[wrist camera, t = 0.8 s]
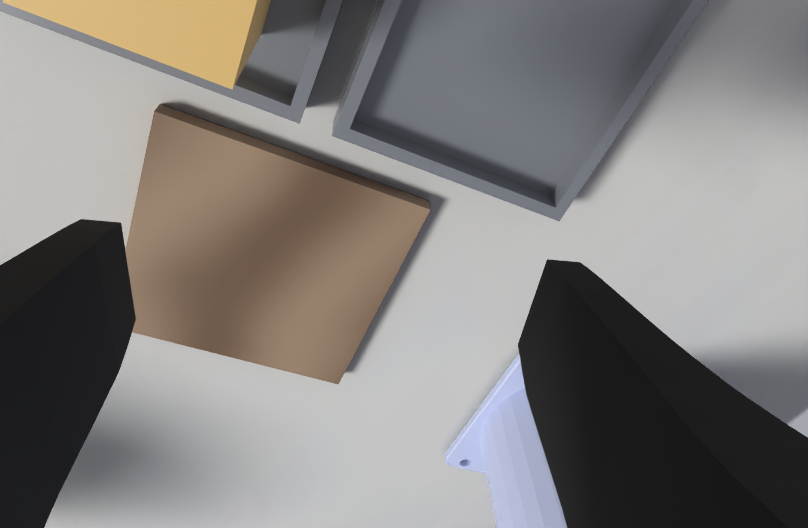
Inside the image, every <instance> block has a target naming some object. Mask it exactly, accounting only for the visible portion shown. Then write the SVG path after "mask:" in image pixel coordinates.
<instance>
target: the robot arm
mask: <svg viewBox="0 0 808 528" xmlns="http://www.w3.org/2000/svg"><path fill="white" fill-rule="evenodd" d="M135 321H136V316H135V309H134V303H133V297H132V290H131V284H130V277H129V271H128V265H127V258H126V252H125V246H124V239H123V233H122V226H121V223H118V222H107V221H95V220H84V219H81V220H79V221H77V222H75V223H73V224H71V225H69V226H67V227H65V228H63V229H62V230H60V231H58V232H56V233H55V234H53V235H51V236H49V237H48V238H46V239H44V240H43V241H41V242H39V243H37V244H36V245H34V246H32V247H31V248H29V249H27V250H26V251H24V252H22V253H21V254H19V255H17V256H15V257H14V258H12V259H10V260H9V261H7V262H5V263H3V264H2V265H0V528H44V527H45V524H46V522H47V519H48V517H49V515H50V512H51V510H52V508H53V506H54V503H55V501H56V499H57V497H58V494H59V492H60V490H61V488H62V486H63V484H64V482H65V480H66V478H67V476H68V474H69V472H70V470H71V468H72V466H73V464H74V462H75V460H76V458H77V456H78V454H79V452H80V450H81V448H82V446H83V444H84V442H85V440H86V438H87V436H88V434H89V432H90V430H91V428H92V426H93V424H94V422H95V420H96V418H97V416H98V414H99V412H100V410H101V408H102V406H103V403H104V401H105V399H106V397H107V395H108V393H109V391H110V389H111V387H112V385H113V383H114V381H115V379H116V377H117V374H118V372H119V370H120V367H121V364H122V361H123V358H124V355H125V352H126V349H127V346H128V343H129V340H130V337H131V334H132V330H133V327H134V324H135ZM518 348H519V354H518V355H517V357H516V358H515V359H514V361H513V362H512V363H511V365H510V366H509V367H508V369H507V370H506V371H505V373H504V374H503V376H502V377H501V378H500V380H499V381H498V382H497V384H496V385H495V386H494V388H493V389H492V390H491V392H490V393H489V394H488V396H487V397H486V399H485V400H484V401H483V403H482V404H481V405H480V407H479V408H478V409H477V411H476V412H475V413H474V415H473V416H472V417H471V419H470V420H469V421H468V423H467V424H466V426H465V427H464V428H463V430H462V431H461V432H460V434H459V435H458V436H457V438H456V439H455V440H454V442H453V443H452V444H451V446H450V447H449V449H448V450H447V451H446V453H445V461H446V463H447V464H448V465H450V466H453V467H457V468H462V469H466V470H471V471H475V472H480V473H484V474H486V476H487V481H488V486H489V491H490V497H491V502H492V507H493V512H494V517H495V522H496V527H497V528H808V438H807V437H806V436H804V435H802V434H801V433H799V432H798V431H796V430H795V429H793V428H791V427H790V426H788V425H787V424H785V423H784V422H782V421H781V420H780V419H778V418H777V417H775V416H774V415H772V414H771V413H769V412H768V411H766V410H765V409H763V408H762V407H760V406H759V405H757V404H756V403H754V402H753V401H751V400H750V399H748V398H747V397H745V396H744V395H743V394H741V393H740V392H739V391H737V390H736V389H734V388H733V387H732V386H730V385H729V384H727V383H726V382H725V381H723V380H722V379H721V378H720V377H718V376H717V375H716V374H714V373H713V372H712V371H710V370H709V369H708V368H707V367H705V366H704V365H703V364H701V363H700V362H699V361H698V360H696V359H695V358H694V357H692V356H691V355H690V354H689V353H687V352H686V351H685V350H684V349H682V348H681V347H680V346H679V345H678V344H676V343H675V342H674V341H673V340H671V339H670V338H669V337H668V336H667V335H666V334H664V333H663V332H662V331H661V330H660V329H658V328H657V327H656V326H655V325H654V324H653V323H651V322H650V321H649V320H648V319H647V318H646V317H644V316H643V315H642V314H641V313H640V312H639V311H637V310H636V309H635V308H634V307H633V306H632V305H631V304H629V303H628V302H627V301H626V300H625V299H624V298H623V297H621V296H620V295H619V294H618V293H617V292H616V291H615V290H613V289H612V288H611V287H610V286H609V285H608V284H606V283H605V282H604V281H603V280H602V279H601V278H599V277H598V276H597V275H596V274H595V273H593V272H592V271H591V270H590V269H588V268H587V267H586V266H584V265H583V264H581V263H580V262H570V261H558V260H547V261H546V264H545V267H544V270H543V273H542V276H541V279H540V282H539V285H538V288H537V291H536V294H535V296H534V299H533V302H532V305H531V308H530V311H529V314H528V317H527V320H526V323H525V326H524V329H523V331H522V334H521V337H520V340H519V343H518Z"/></svg>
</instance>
